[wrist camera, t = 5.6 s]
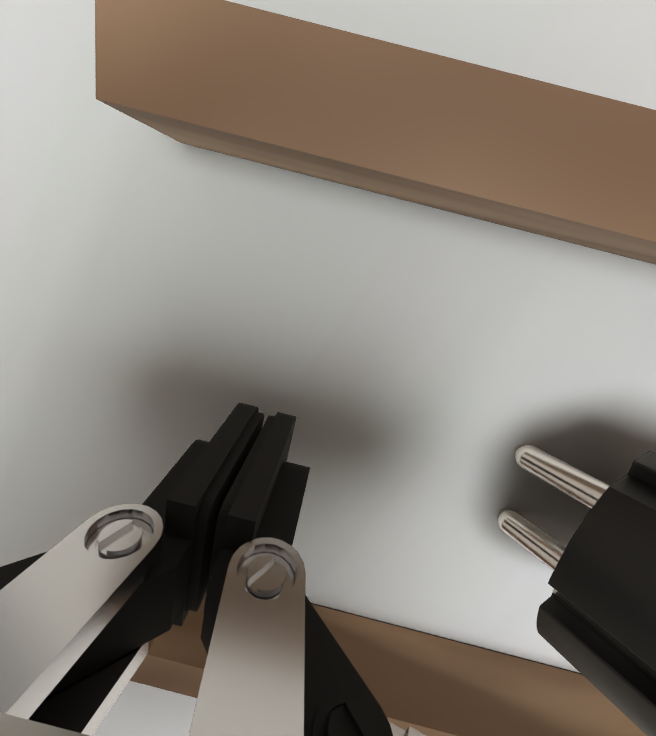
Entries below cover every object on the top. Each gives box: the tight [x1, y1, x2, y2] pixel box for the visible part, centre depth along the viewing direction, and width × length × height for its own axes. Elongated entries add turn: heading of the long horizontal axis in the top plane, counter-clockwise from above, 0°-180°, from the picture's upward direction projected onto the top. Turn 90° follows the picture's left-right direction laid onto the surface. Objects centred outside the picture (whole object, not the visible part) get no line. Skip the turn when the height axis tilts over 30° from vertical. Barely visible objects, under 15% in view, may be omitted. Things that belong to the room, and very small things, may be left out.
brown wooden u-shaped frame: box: [95, 0, 656, 736], centre depth 10 cm, size 18×26×3 cm
